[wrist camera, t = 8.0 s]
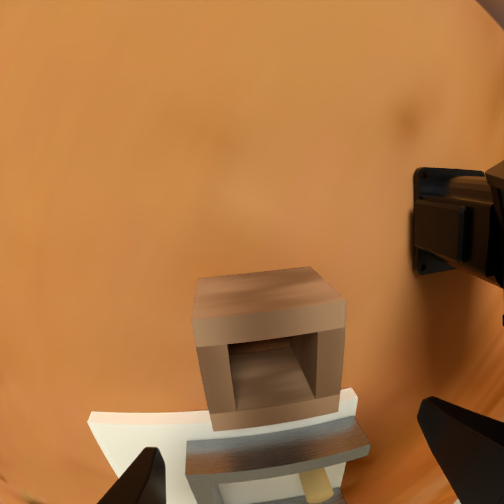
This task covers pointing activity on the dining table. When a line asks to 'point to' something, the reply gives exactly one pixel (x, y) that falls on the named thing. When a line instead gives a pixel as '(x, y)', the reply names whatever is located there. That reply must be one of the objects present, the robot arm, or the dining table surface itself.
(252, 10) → the dining table surface
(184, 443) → the base board
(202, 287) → the hollow wooden box
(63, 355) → the dining table surface
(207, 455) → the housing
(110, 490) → the robot arm
